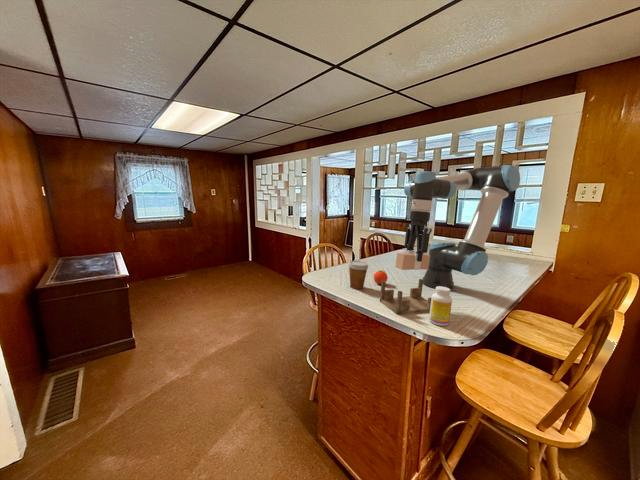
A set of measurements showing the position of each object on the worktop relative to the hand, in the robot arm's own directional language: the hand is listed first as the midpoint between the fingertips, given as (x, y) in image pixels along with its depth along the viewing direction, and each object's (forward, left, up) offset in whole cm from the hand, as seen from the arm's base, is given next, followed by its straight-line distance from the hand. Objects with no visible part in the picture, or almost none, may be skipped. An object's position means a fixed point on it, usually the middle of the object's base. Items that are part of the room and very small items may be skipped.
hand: (412, 267), depth 108 cm
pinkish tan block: (0, 0, 0) cm, 1 cm away
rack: (+2, +3, -16) cm, 16 cm away
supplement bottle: (0, +18, -16) cm, 24 cm away
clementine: (-1, -25, -16) cm, 30 cm away
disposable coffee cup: (+14, -22, -16) cm, 31 cm away
